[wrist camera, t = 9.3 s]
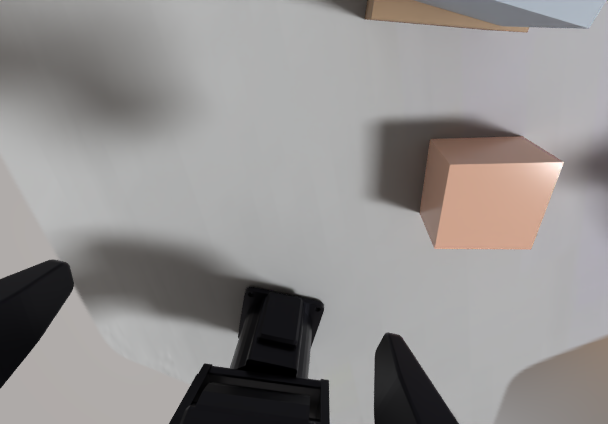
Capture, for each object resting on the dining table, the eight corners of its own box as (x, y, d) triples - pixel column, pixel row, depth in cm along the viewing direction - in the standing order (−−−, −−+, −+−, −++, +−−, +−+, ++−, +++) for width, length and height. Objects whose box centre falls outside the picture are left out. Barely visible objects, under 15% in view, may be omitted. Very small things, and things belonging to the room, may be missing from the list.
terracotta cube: (499, 211, 21) (531, 249, 17) (419, 211, 21) (434, 248, 18) (521, 135, 18) (563, 162, 15) (429, 138, 19) (450, 164, 15)
